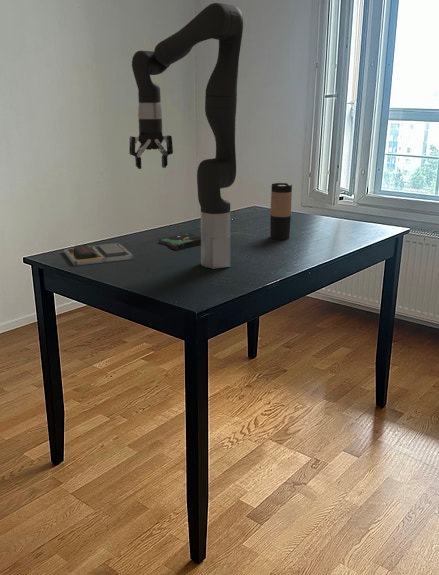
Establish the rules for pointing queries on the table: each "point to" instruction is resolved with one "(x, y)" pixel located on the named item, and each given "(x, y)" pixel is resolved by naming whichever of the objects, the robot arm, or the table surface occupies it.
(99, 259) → the tray
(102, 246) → the blank panel
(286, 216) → the travel mug
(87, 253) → the usb drive
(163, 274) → the table surface
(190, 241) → the disk drive
